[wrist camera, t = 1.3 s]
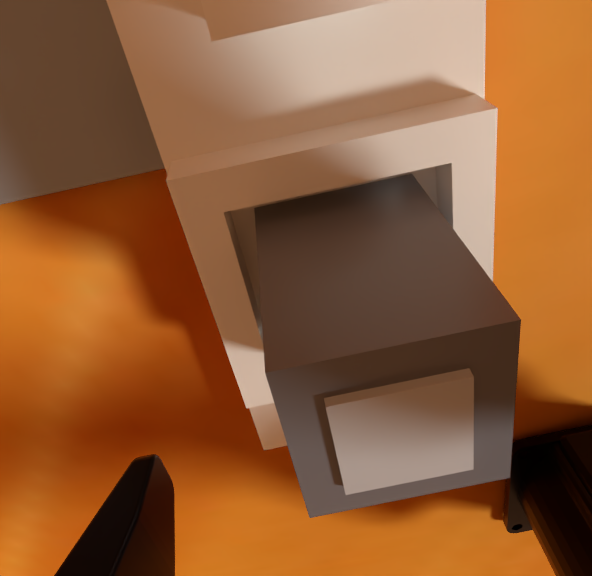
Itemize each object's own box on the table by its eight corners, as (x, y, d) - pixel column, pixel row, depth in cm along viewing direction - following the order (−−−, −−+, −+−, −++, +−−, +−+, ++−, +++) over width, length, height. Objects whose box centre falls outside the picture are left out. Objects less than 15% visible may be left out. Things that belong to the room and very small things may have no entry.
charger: (420, 301, 15) (514, 486, 10) (286, 329, 15) (310, 527, 10) (411, 173, 13) (526, 327, 8) (254, 207, 13) (265, 382, 8)
